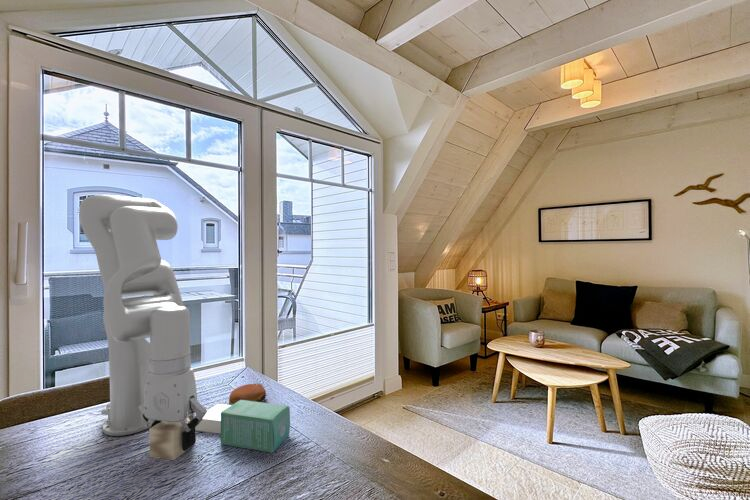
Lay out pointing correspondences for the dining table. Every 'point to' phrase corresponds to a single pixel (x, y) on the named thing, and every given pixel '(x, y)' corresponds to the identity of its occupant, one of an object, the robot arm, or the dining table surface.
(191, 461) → the dining table surface
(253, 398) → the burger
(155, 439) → the maple block
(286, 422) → the box
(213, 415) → the white slab
